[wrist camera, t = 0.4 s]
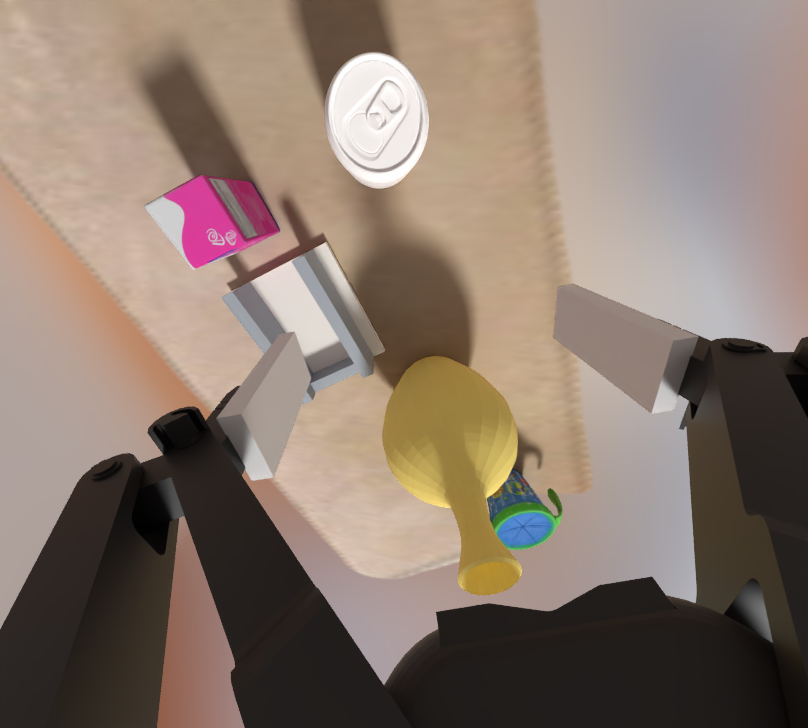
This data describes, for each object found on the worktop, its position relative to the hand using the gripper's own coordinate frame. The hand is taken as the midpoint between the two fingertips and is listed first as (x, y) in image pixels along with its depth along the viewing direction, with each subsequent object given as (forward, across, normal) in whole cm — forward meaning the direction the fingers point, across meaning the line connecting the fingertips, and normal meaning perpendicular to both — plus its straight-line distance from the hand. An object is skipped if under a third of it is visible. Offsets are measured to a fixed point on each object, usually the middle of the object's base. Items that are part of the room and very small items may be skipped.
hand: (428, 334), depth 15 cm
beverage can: (+26, 0, +11) cm, 29 cm away
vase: (+26, +2, -20) cm, 33 cm away
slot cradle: (+26, -13, -7) cm, 30 cm away
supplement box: (+26, -17, +7) cm, 32 cm away
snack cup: (+26, +13, -45) cm, 53 cm away
